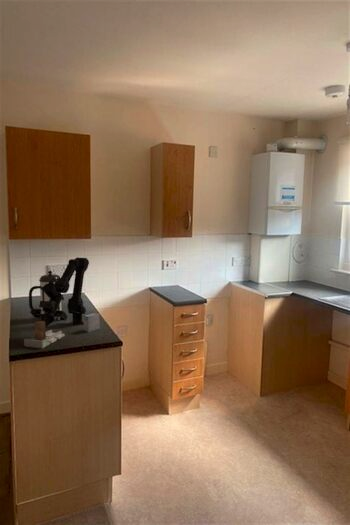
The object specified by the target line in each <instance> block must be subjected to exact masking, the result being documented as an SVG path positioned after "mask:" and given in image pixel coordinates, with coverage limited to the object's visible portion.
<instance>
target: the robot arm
mask: <svg viewBox="0 0 350 525" xmlns="http://www.w3.org/2000/svg"><path fill="white" fill-rule="evenodd" d="M89 265H90V261H89V260H88V258H87V257H76V258H73V259H72V258H71V259H69V260H68V264H67V266H66V267H65V269H64V271H63V273H62V275H61V276H60V279H58V280H57V281H56V282H55V284H54V283H53V282H49V283H47V284H46V285H44V286H43V291H44V292H45V294H46V295H47V296H48V297H49V298H50V299H49V301H41V300H40V301H39V304H38V305H39V306H38V308H34V307H33V309H30V312H29V313H30V314H31V316H32V317H33V318H35V319H41V321H45V329H46V328H47V327H48V326H50V325H51V324H52V323H54V322H56V320H57V318H56V317H58V318H59V317H60V318H59V319H61V320H60V321H65V322H66V321H67V319H68V315H67V314H66V312H65V311H64V310H62V311H59V310H57V309H59V308H60V307H59V304H60V302H61V303H62V301H64V300H65V297H64V295H63V294H67V293H68V291H69V289H70V286H71V284H70V281H71V279H72V277H73V276H74V280H73V281H74V282H73V289H72V296H71V297H70V298H68V300H67V301H68V302H67V307H66V308H67V311H68V314H69V315H71V314H72V315H71V318H72V319H71V320H72V321H70V323H71V324H72V326H77V325H84V320H83V315H85V314H86V310H87V309H86V307H85V306H84V301H83V298H82V292H83V283H84V276H85V273H86V272H87V270H88V268H89ZM74 273H75V274H74ZM41 308H42V310H44V311H40V309H41Z"/></svg>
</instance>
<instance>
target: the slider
mask: <svg viewBox="0 0 350 525" xmlns="http://www.w3.org/2000/svg"><path fill="white" fill-rule="evenodd" d="M46 332H47V331H46V328H45V321H42V320H37V321H34V337H33V338H34V340H40V341H42V340H44V339H46Z"/></svg>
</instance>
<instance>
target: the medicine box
mask: <svg viewBox="0 0 350 525" xmlns="http://www.w3.org/2000/svg"><path fill="white" fill-rule="evenodd" d="M100 316H101V314H99V313H96V312H94V313H90V314H86V315H85V314H84V315H83V322H84V324H83V331H84V332H87V333H90V332H93V331H97V330H100V329H101V324H100V323H101V321H100V320H101V318H100Z"/></svg>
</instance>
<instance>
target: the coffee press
mask: <svg viewBox="0 0 350 525" xmlns="http://www.w3.org/2000/svg"><path fill="white" fill-rule="evenodd" d="M60 278H61V276H60V275H58V274H53V271H52V270H49V271H48V272H47V274H44V275H41V276H40V277H39V280H38V281H39V285H33V286H32V287H31V288H30V289H29V292H28V306H29V309H30V310H31V309H33V308H34V307H33V291H34V290H37V289H39V292H40V293H39V294H40V301H49V299H50V298H49V297H48V296H47V295H46V294H45V292H44V291H43V286H44V285H46V284H47V283H49V282H53V283H54V284H55V282H56V281H57V280H58V279H60ZM59 307H60V308H59V309H57V310H59V311H63V310H62V301H61V302H60V304H59ZM39 309H40V311H44V310H42V308H41V307H40V308H39ZM56 320H58V321H62V320H61V319H60V317H56Z"/></svg>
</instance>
